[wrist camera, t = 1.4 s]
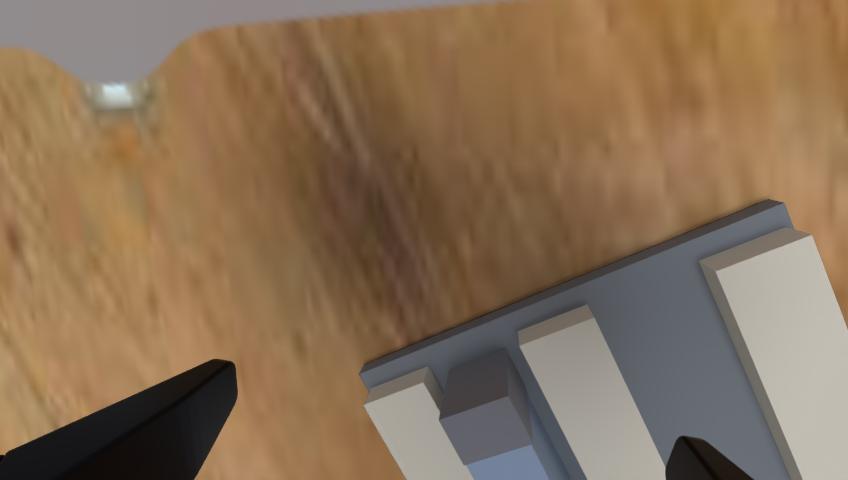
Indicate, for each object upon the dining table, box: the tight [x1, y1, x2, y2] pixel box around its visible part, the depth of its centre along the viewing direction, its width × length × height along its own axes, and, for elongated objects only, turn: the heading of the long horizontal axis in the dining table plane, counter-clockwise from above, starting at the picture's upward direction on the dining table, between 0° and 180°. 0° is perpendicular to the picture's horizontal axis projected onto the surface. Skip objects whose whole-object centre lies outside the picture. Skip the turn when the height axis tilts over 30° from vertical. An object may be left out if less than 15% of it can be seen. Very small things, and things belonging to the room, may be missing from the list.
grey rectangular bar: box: [439, 348, 572, 480], centre depth 20 cm, size 10×3×4 cm, turn 28°
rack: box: [359, 199, 848, 480], centre depth 21 cm, size 14×21×2 cm, turn 118°
